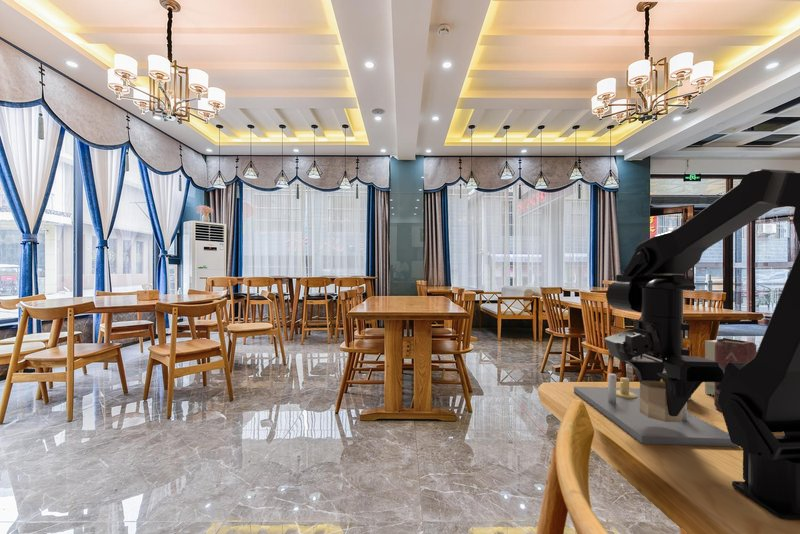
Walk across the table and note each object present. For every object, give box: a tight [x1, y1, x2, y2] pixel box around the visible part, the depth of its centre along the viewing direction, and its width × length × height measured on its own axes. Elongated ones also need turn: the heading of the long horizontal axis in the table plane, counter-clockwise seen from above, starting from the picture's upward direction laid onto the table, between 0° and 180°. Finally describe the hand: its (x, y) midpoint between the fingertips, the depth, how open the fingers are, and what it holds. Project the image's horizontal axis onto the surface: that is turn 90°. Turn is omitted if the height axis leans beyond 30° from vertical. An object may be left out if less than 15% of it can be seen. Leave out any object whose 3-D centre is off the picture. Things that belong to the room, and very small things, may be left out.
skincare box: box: [704, 339, 717, 396], centre depth 83 cm, size 6×4×12 cm
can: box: [713, 338, 758, 412], centre depth 73 cm, size 6×6×14 cm
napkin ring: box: [639, 380, 683, 422], centre depth 62 cm, size 6×6×5 cm
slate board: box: [573, 373, 740, 448], centre depth 71 cm, size 25×15×7 cm, turn 178°
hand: (660, 409), depth 62 cm, fingers closed on napkin ring, 5 cm apart
